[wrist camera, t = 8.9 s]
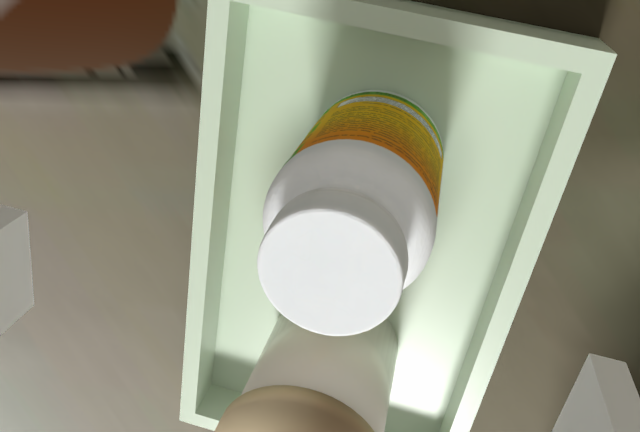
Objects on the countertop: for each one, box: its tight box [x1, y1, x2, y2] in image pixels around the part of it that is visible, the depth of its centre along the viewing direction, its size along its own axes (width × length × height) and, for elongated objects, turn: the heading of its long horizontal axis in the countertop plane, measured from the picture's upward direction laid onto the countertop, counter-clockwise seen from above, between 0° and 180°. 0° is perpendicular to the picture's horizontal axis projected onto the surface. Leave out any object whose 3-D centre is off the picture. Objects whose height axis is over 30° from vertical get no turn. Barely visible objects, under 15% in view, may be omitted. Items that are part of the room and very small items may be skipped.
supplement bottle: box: [257, 90, 444, 336], centre depth 20 cm, size 5×5×10 cm
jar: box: [241, 314, 398, 432], centre depth 26 cm, size 6×6×7 cm
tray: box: [179, 0, 617, 432], centre depth 26 cm, size 14×22×3 cm, turn 171°
